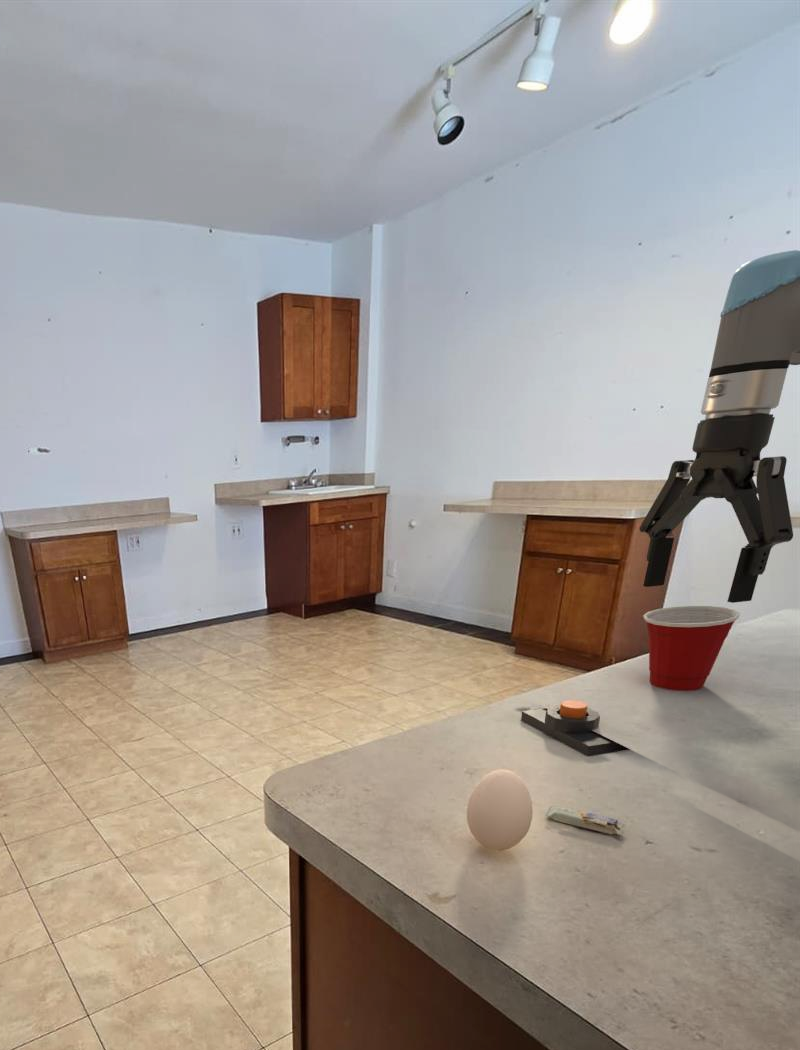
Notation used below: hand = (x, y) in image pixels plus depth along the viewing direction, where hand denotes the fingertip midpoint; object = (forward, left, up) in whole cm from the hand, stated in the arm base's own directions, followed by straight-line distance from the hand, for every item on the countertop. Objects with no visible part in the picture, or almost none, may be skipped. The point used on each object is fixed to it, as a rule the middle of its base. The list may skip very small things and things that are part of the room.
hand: (693, 593), depth 86 cm
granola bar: (+36, +28, -15) cm, 48 cm away
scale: (+16, +8, -14) cm, 23 cm away
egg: (+46, +29, -15) cm, 56 cm away
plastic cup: (0, 0, -15) cm, 15 cm away
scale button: (+22, +8, -12) cm, 27 cm away
